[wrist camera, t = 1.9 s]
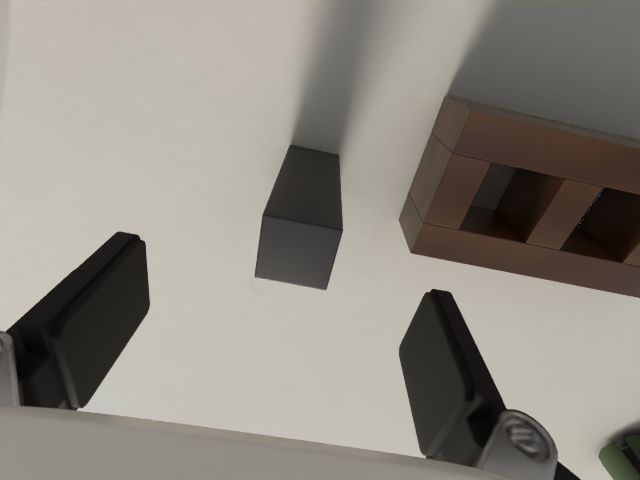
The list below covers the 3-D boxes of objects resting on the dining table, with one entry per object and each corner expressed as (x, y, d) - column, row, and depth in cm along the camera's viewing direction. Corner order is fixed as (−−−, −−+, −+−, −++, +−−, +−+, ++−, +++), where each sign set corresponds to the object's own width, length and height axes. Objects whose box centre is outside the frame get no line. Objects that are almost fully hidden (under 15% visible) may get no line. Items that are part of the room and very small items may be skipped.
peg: (289, 144, 20) (262, 213, 12) (339, 155, 20) (343, 229, 12) (282, 190, 21) (254, 278, 14) (328, 200, 22) (326, 291, 14)
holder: (445, 95, 18) (470, 109, 15) (759, 169, 20) (849, 197, 16) (398, 219, 22) (410, 253, 19) (662, 273, 24) (717, 313, 20)
